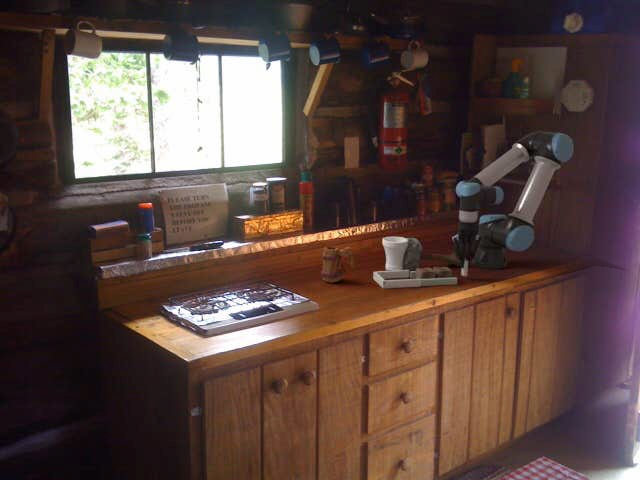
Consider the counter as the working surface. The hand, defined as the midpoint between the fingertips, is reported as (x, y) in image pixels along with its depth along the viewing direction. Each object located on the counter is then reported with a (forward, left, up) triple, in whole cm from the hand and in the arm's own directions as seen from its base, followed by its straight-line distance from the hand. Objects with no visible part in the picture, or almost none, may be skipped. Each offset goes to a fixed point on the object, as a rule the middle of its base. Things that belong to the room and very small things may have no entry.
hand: (464, 275), depth 294 cm
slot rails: (+14, 0, -2) cm, 14 cm away
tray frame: (+30, 0, -2) cm, 30 cm away
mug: (+54, -5, -2) cm, 54 cm away
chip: (+10, 0, -2) cm, 10 cm away
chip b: (+17, 0, -2) cm, 18 cm away
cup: (+25, -16, -2) cm, 30 cm away
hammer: (+8, -18, -2) cm, 20 cm away
